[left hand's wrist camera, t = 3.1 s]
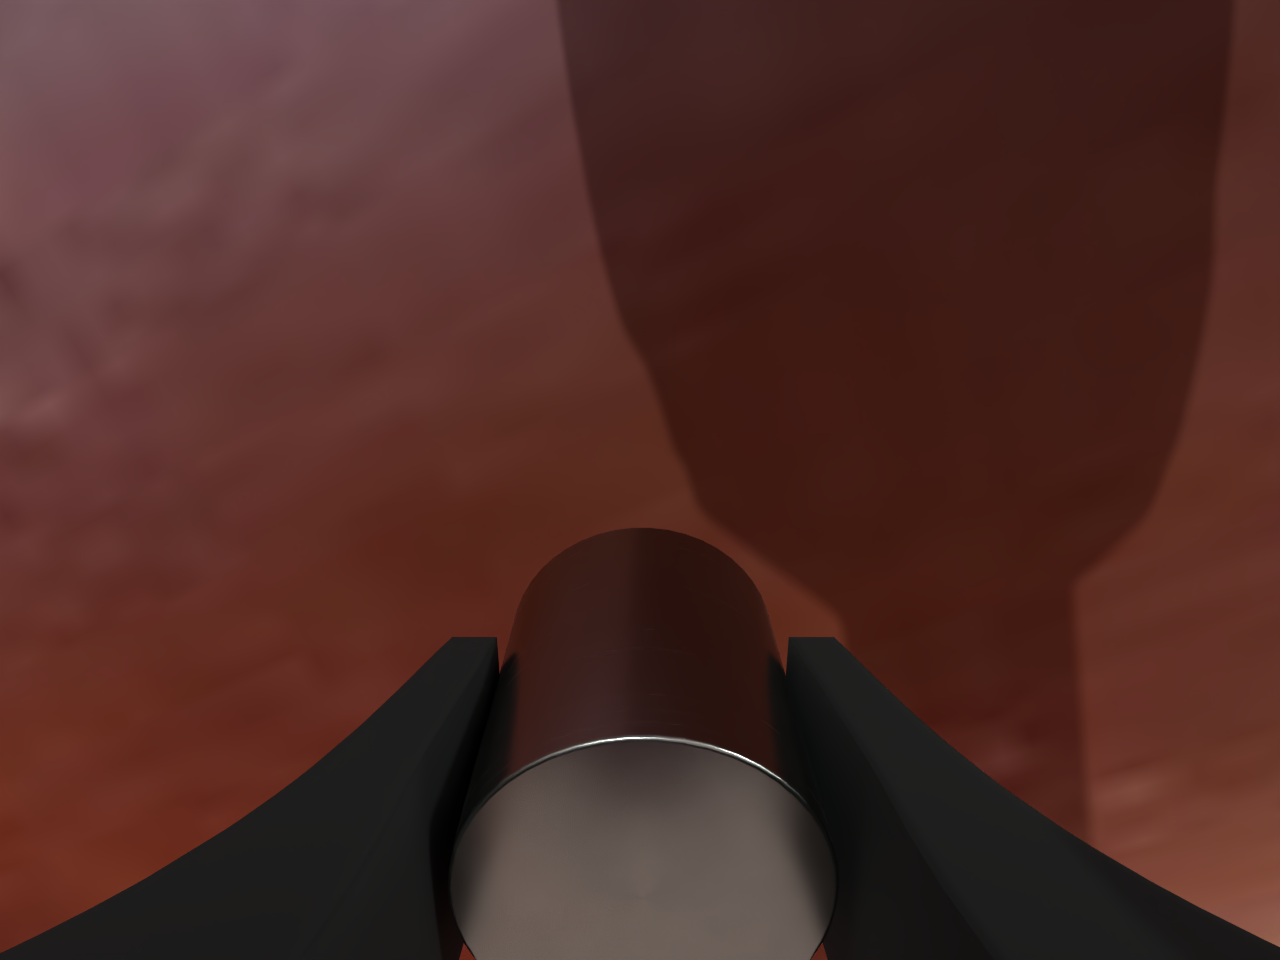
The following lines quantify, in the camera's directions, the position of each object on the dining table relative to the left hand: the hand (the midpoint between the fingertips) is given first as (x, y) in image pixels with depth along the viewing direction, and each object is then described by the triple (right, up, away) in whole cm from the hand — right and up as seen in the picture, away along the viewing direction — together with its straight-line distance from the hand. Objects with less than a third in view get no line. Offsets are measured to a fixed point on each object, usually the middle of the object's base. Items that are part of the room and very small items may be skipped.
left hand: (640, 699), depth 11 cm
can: (0, +1, +1) cm, 1 cm away
